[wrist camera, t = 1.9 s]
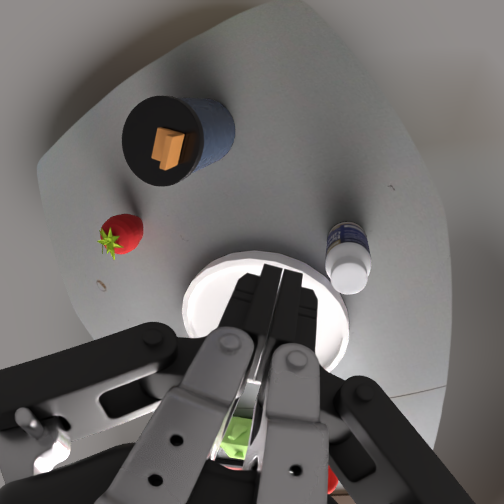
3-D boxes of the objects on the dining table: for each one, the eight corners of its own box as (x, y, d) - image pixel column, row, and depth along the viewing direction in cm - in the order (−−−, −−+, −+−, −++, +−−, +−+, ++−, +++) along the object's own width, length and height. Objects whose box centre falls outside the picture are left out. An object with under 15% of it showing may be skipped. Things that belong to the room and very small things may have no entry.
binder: (208, 462, 85) (259, 468, 77) (210, 457, 87) (260, 462, 79) (228, 475, 91) (275, 480, 82) (230, 471, 93) (277, 475, 84)
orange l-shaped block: (185, 134, 25) (172, 136, 23) (178, 165, 26) (165, 170, 24) (160, 126, 25) (146, 129, 23) (154, 157, 27) (140, 162, 25)
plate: (384, 303, 40) (385, 313, 38) (298, 393, 54) (296, 403, 52) (214, 217, 41) (208, 224, 39) (174, 335, 55) (169, 343, 53)
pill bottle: (333, 215, 36) (333, 249, 28) (372, 227, 35) (382, 264, 27) (321, 251, 39) (317, 292, 30) (358, 262, 38) (362, 305, 30)
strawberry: (164, 233, 44) (127, 263, 36) (131, 240, 47) (94, 269, 38) (150, 198, 42) (109, 223, 33) (118, 209, 45) (78, 233, 36)
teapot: (257, 440, 70) (247, 470, 61) (216, 421, 69) (203, 452, 60) (287, 425, 62) (278, 461, 53) (240, 404, 61) (227, 440, 52)
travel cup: (246, 107, 33) (211, 107, 23) (225, 174, 37) (187, 199, 28) (181, 90, 33) (130, 89, 24) (165, 154, 38) (116, 172, 29)
